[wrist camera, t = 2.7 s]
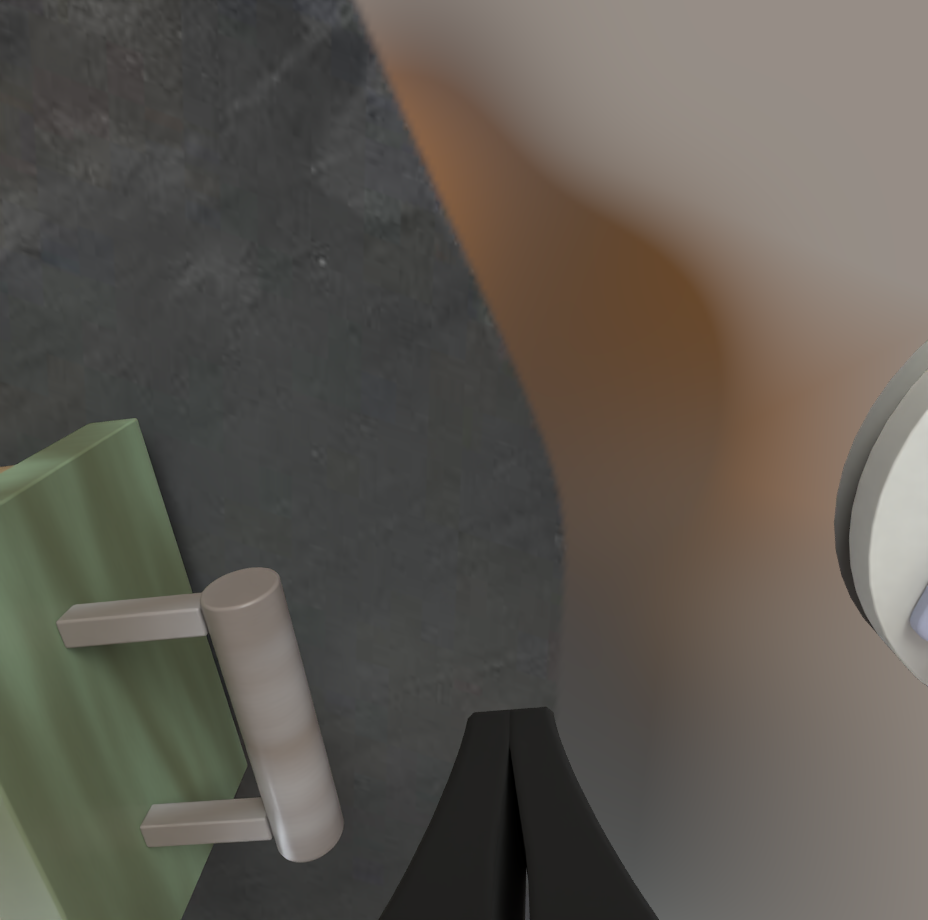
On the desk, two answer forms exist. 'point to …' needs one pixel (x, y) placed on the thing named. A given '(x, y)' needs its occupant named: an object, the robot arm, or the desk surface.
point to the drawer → (137, 697)
